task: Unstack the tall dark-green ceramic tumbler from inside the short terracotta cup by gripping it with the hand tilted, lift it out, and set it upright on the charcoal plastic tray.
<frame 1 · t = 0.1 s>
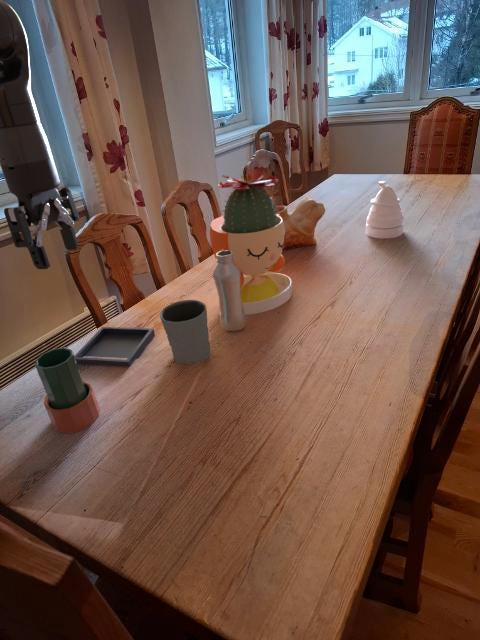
hand: (58, 258, 73), 31 cm above the table, tool pointing down, fingers open, 8 cm apart
tall cup: (76, 416, 84), point 1 cm above the table, touching short cup
potted cactus: (252, 296, 123), on the table
tray: (116, 349, 105), on the table
grey cup: (191, 356, 99), on the table
honey pot: (383, 233, 157), on the table
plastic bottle: (234, 328, 109), on the table
ceramic vessel: (291, 243, 158), on the table
short cup: (77, 419, 84), on the table, touching tall cup
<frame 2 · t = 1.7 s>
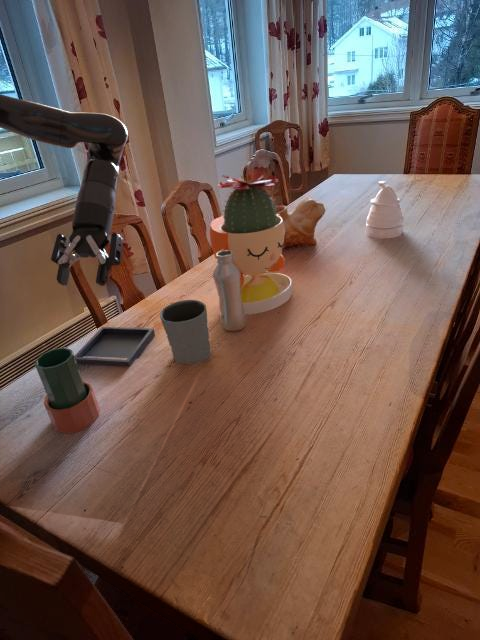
hand: (81, 284, 84), 23 cm above the table, tool tilted 45°, fingers open, 8 cm apart
nothing on the table moved.
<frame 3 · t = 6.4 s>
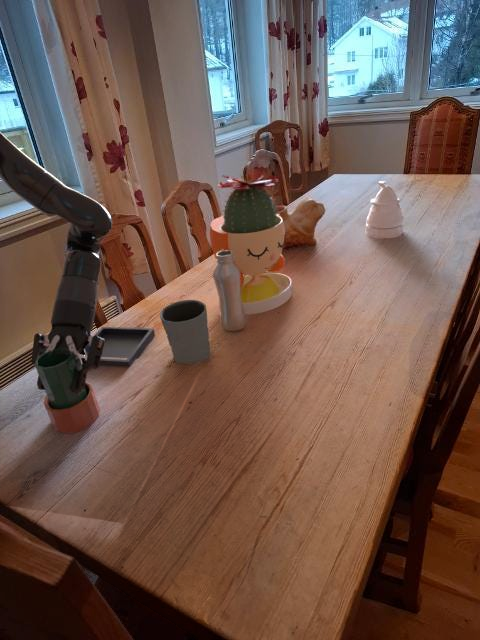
hand: (59, 390, 78), 8 cm above the table, tool tilted 45°, fingers closed on tall cup, 6 cm apart
tall cup: (76, 416, 84), point 1 cm above the table, touching gripper, short cup
everything else where it was.
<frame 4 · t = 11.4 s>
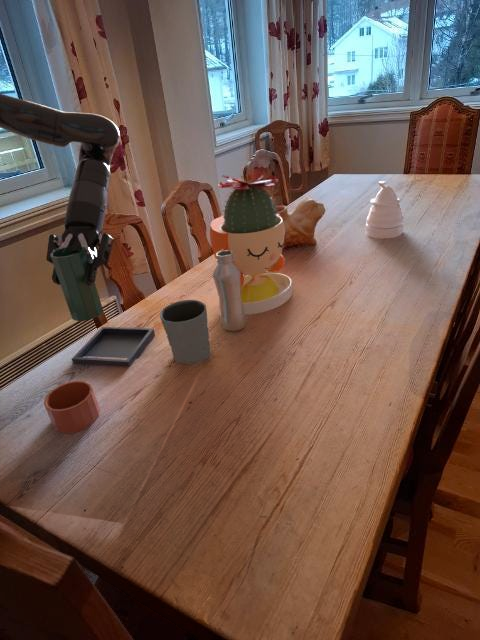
hand: (72, 283, 86), 22 cm above the table, tool tilted 45°, fingers closed on tall cup, 6 cm apart
tall cup: (87, 313, 91), point 15 cm above the table, touching gripper
short cup: (77, 419, 84), on the table
everything else where it was.
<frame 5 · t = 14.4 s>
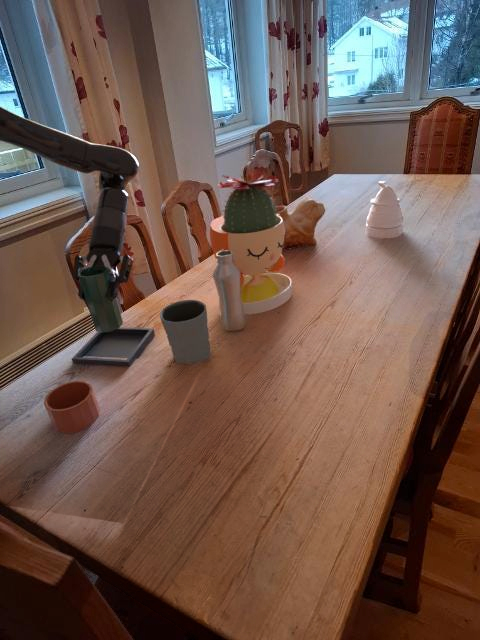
hand: (96, 299, 96), 15 cm above the table, tool tilted 45°, fingers closed on tall cup, 6 cm apart
tall cup: (109, 325, 102), point 7 cm above the table, touching gripper
everything else where it was.
when the fingers open (8 cm above the table, at t = 16.8 s): tall cup stays where it is, resting on tray.
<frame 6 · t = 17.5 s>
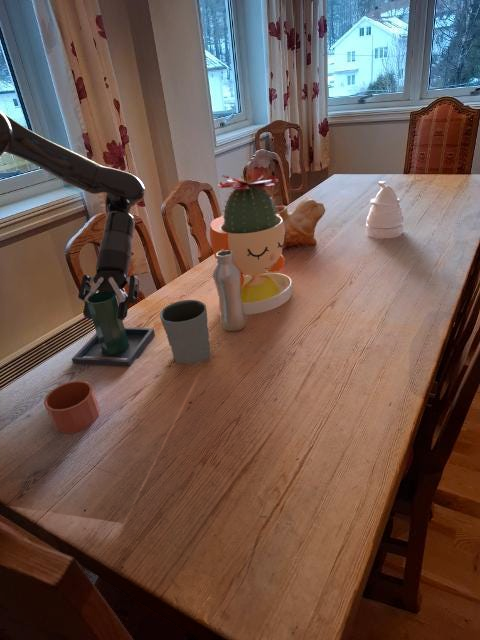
hand: (104, 318, 99), 9 cm above the table, tool tilted 45°, fingers open, 8 cm apart
tall cup: (115, 347, 105), resting on tray
everything else where it was.
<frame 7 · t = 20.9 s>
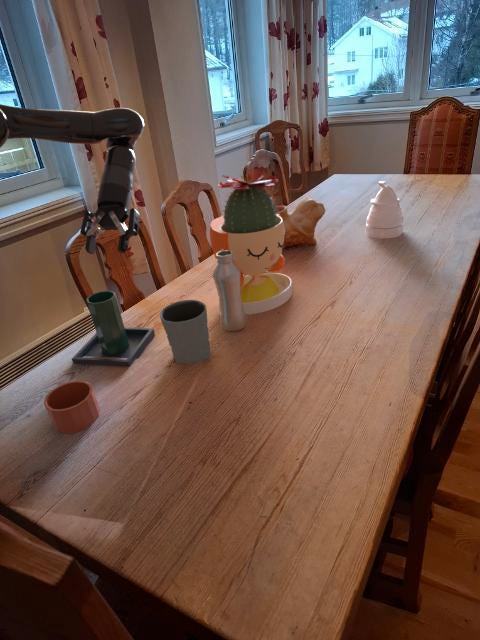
hand: (105, 252, 100), 23 cm above the table, tool tilted 45°, fingers open, 8 cm apart
nothing on the table moved.
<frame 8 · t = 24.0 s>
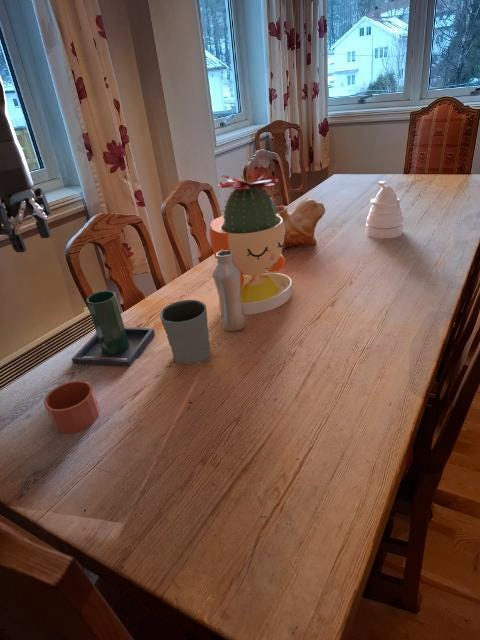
hand: (34, 244, 92), 28 cm above the table, tool pointing down, fingers open, 8 cm apart
nothing on the table moved.
at the end: tall cup inside the target area in the tray (0.1 cm from its centre), point 0.5 cm above the tray's base; tall cup tilted 0°; short cup moved 0.0 cm from its start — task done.
